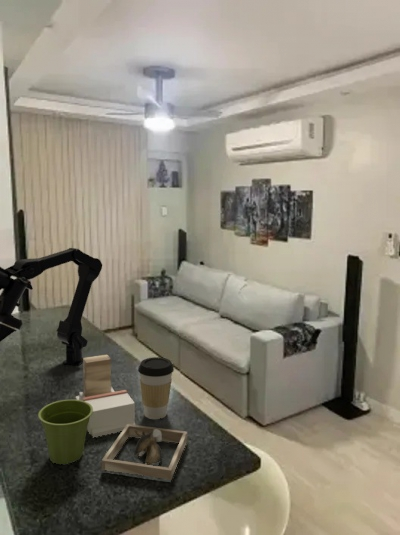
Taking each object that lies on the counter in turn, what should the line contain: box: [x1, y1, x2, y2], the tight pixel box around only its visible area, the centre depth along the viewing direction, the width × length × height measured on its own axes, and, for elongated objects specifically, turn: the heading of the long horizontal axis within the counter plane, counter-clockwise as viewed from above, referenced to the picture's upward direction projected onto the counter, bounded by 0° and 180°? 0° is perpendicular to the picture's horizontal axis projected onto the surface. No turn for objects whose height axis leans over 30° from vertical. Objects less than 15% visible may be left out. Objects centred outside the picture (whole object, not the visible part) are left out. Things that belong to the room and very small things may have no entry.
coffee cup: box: [137, 356, 175, 420], centre depth 117 cm, size 10×10×15 cm
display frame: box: [101, 424, 188, 480], centre depth 98 cm, size 16×16×3 cm
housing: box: [75, 386, 136, 439], centre depth 117 cm, size 22×12×6 cm, turn 27°
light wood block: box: [82, 354, 112, 397], centre depth 123 cm, size 5×7×12 cm, turn 117°
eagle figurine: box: [133, 429, 163, 464], centre depth 97 cm, size 8×7×9 cm
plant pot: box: [37, 399, 93, 465], centre depth 96 cm, size 12×12×11 cm
